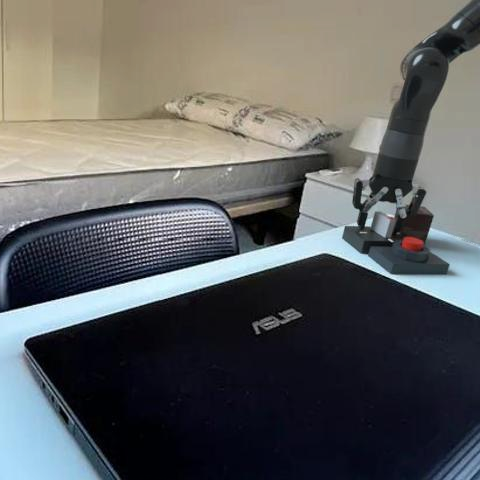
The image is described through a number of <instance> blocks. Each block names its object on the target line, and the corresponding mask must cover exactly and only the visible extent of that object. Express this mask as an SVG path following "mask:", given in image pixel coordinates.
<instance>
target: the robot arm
mask: <svg viewBox="0 0 480 480" xmlns="http://www.w3.org/2000/svg"><path fill="white" fill-rule="evenodd" d="M479 46H480V0H470V1H468V2H467V4H465V5H464V6H463V7H462V8H461V9H459V10H458V11H457V12H456V13H455V14H454V15H453V16H452V17H450V19H449V20H448V21H447V22H446V23H444V24H443V25H442V26H440V27H439V28H438V29H436V30H435V31H434V32H432V33H431V34H429V35H428V36H427V37H425V38H424V39H422V40H421V41H420V42H419V43H417V44H416V45H415V46H414V47H413V48H411V49H410V50H409V51H408V52H407V53H406V54H405V55H404V56H403V58H402V59H401V62H400V65H399V74H400V76H401V79H402V80H403V81H404V82H403V85H402V89H401V91H400V96H399V98H398V99H397V100H396V101H395V102H394V103H393V104H392V108H391V111H390V114H389V118H388V122H387V125H386V129H385V132H384V134H383V136H382V139H381V143H380V145H379V148H378V154H377V158H376V161H375V165H374V169H373V173H372V176H371V177H370V178H369V179H361V178H359V177H357V178H355V179H354V182H353V190H352V191H353V193H352V200H351V203H352V206H353V207H354V209H355V210H358V215H357V220H356V224H357V226H359V228H360V229H364V227H365V226H366V224H367V219H368V216H369V213H368V212H370V210H371V209H372V208H373V207H374V206H376V204H377V203H378V202H381V203H389V204H394V206H395V210H396V209H397V215H395V214H394V216H395V220H396V221H395V224H394V228H393V231H392V234H397V232H400V230H401V228H402V225H403V221H404V219H405V218H406V217H409V216H411V217H414V216H416V214H417V212H418V210H419V208H420V206H421V205H422V203H423V202H424V200H425V197H426V195H427V191H426V189H425V188H423V187H422V186H414V185H413V181H414V177H415V174H416V170H417V167H418V164H419V160H420V157H421V153H422V150H423V147H424V141H425V136H426V132H427V128H428V126H429V122H430V119H431V114H432V110H433V108H434V107H435V105H436V103H437V102H438V99H439V97H440V94H441V92H442V91H443V88H444V86H445V84H446V81H447V78H448V75H449V71H450V64H451V63H452V62H453V61H454V60H456V59H457V58H458V57H460V56H461V55H463V54H466V53H469V52H471V51H473V50H475V49H476V48H477V47H479ZM368 186H369V188H370V190H371V191H370V193H368V195H367V196H366V198H365V199H364V201H363V202H362V195H363V191H365V190H366V188H367V187H368ZM410 193H411V196H412V198H411V199H410V202H409V204H408V205H409V207H408V209H405V205H406V204H405V201H404V198H405V197H406V196H408V194H410ZM404 204H405V205H404Z"/></svg>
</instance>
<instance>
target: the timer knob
mask: <svg viewBox="0 0 480 480" xmlns="http://www.w3.org/2000/svg"><path fill="white" fill-rule="evenodd" d="M395 221H396V220H395V218H394V217H393V216H390V215H388V214H386V213H384V212H382V211H376V210H375V211H374V213H373V217H372V221H371V224H370V225H371V228H370V229H372V230H373V231H375V232H376V233H378V234H380V235H381V236H383V237H385V238H391V235H392V231H393V228H394V224H395Z"/></svg>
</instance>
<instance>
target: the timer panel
mask: <svg viewBox="0 0 480 480" xmlns="http://www.w3.org/2000/svg"><path fill="white" fill-rule="evenodd" d="M370 228H371V224H367V226H366V225H365V227H364V229H360V228H359V226H358V225H344V228H343V231H342V232H343V233H342V236H341V239H342V240H343V241H344V242H345V243H347V244H348V245H349V246H351V248H353V249H354V250H356V251H357V252H358V253H359V254H360V255H368V254H369V250H370V247H371V246H376V247H392V246H393V243H394V242H395V241H397V240H403V239H404V238H405V237H409V236H408V235H406V234H405V233H403V232H402V231H400V232H397V234H392V235H391V238H385V237H383V236H381V235H380V234H378V233H376V232H375V231H373V230H372V229H370Z"/></svg>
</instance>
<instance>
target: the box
mask: <svg viewBox="0 0 480 480" xmlns="http://www.w3.org/2000/svg"><path fill="white" fill-rule="evenodd" d="M404 205H405V209H408V207H409V204H405V203H404ZM395 215H397V209H396V208H395V212H394V217H393V218H395ZM434 218H435V215H434V213H432V212H431V211H430V210H429V209H427V207H426V206H421V205H420V208H419V210H418V212H417V214H416V216H414V217H411V216H409V217H406V218H405V219H404V221H403V225H402V228H401V230H400V231H402V232H403V233H405V234H406V235H408V236H409V237H413V238H417V239H420V240H422V241H423V242H424V244H423V245H424V246H426V242H427V240H428V236H429V232H430V229H431V226H432V222H433V220H434Z"/></svg>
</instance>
